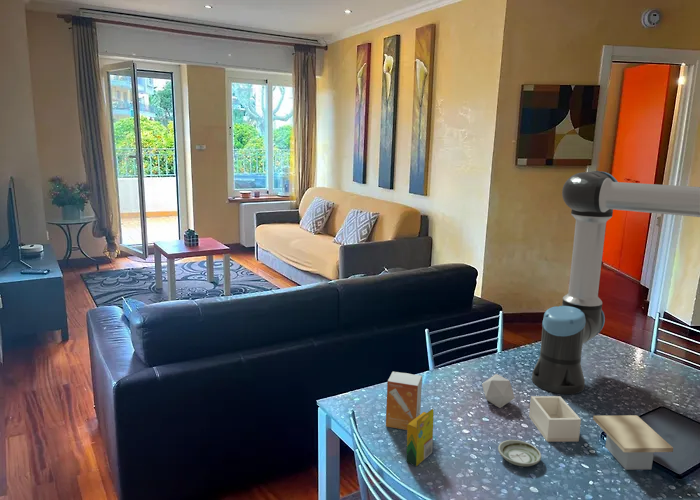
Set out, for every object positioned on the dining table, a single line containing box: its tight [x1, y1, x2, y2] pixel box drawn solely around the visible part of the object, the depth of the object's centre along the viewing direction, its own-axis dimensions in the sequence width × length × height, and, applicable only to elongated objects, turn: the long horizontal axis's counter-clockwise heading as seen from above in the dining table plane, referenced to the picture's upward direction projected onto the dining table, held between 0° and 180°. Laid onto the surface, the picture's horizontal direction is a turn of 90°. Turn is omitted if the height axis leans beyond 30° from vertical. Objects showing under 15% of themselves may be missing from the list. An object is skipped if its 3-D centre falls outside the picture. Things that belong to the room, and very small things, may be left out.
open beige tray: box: [528, 395, 582, 443], centre depth 134 cm, size 8×12×6 cm, turn 2°
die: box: [481, 373, 516, 409], centre depth 147 cm, size 8×9×10 cm
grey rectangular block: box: [604, 434, 655, 471], centre depth 122 cm, size 6×9×6 cm, turn 2°
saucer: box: [497, 439, 542, 467], centre depth 121 cm, size 10×10×2 cm
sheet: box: [592, 414, 674, 453], centre depth 121 cm, size 11×14×1 cm
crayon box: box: [406, 408, 434, 467], centre depth 120 cm, size 7×3×12 cm, turn 140°
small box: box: [385, 371, 423, 431], centre depth 135 cm, size 8×6×13 cm
